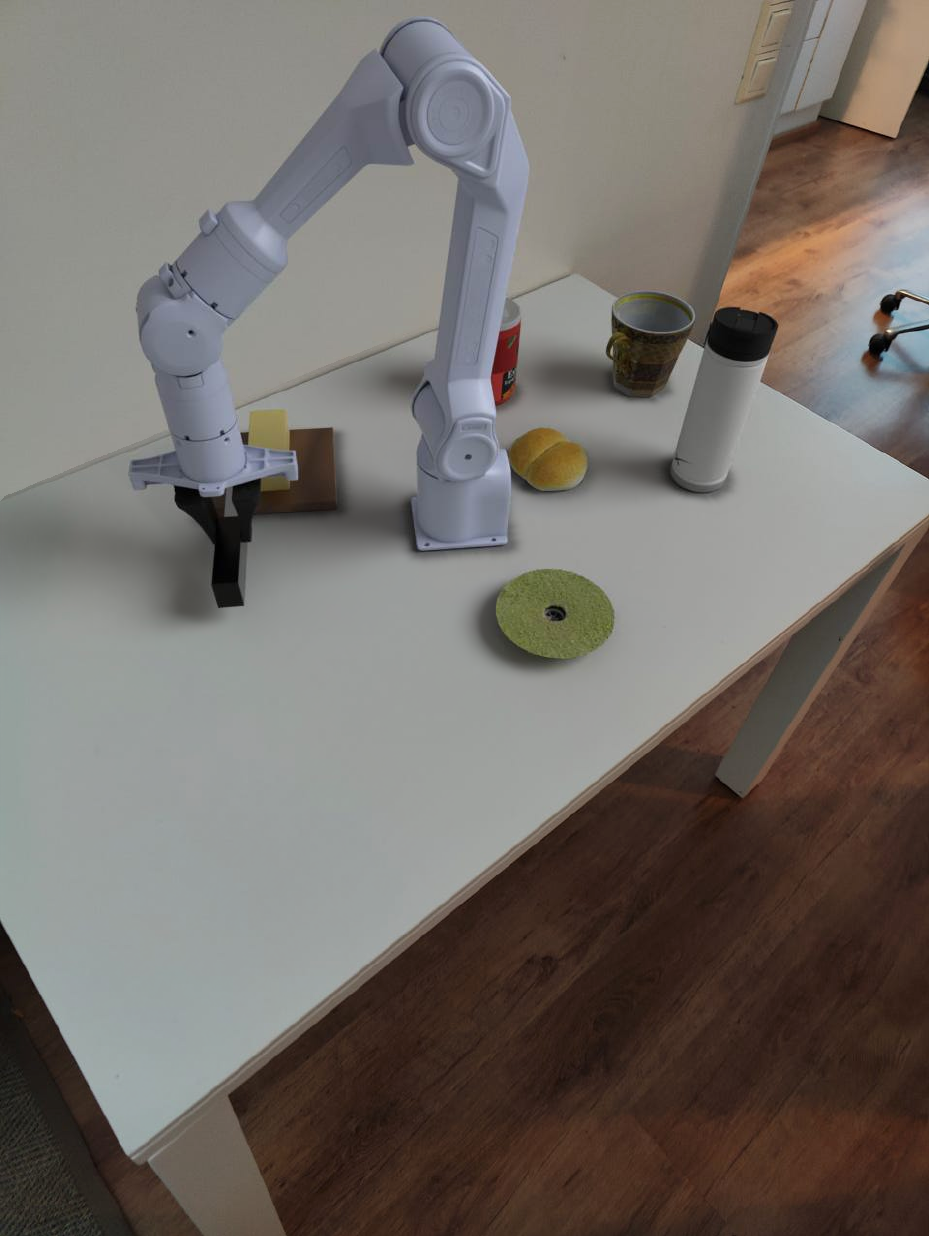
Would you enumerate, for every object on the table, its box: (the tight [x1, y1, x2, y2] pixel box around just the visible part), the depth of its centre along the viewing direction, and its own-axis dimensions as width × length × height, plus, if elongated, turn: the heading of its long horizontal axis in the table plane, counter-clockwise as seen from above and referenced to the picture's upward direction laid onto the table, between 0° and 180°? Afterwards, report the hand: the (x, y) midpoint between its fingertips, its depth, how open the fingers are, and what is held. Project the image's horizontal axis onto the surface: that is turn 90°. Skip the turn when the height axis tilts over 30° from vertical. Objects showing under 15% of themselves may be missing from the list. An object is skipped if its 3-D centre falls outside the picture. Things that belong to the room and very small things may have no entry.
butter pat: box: [261, 477, 290, 492], centre depth 88 cm, size 4×2×3 cm, turn 98°
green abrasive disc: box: [495, 568, 616, 659], centre depth 78 cm, size 11×11×2 cm
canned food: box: [491, 297, 522, 407], centre depth 100 cm, size 8×8×11 cm
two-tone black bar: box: [210, 486, 248, 609], centre depth 81 cm, size 19×2×3 cm, turn 8°
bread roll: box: [508, 427, 589, 492], centre depth 93 cm, size 8×9×4 cm
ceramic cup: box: [605, 290, 696, 398], centre depth 102 cm, size 13×10×10 cm
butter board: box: [212, 426, 338, 517], centre depth 92 cm, size 14×13×1 cm
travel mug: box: [669, 306, 779, 493], centre depth 87 cm, size 6×7×20 cm
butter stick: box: [248, 408, 290, 451], centre depth 91 cm, size 4×8×3 cm, turn 8°
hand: (232, 536), depth 80 cm, fingers closed on two-tone black bar, 2 cm apart
